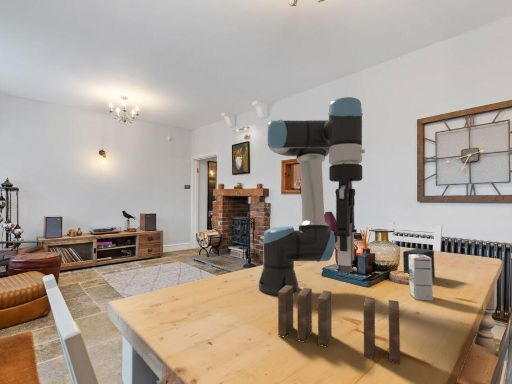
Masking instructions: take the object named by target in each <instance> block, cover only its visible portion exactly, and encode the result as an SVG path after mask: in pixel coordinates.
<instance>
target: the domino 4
mask: <svg viewBox="0 0 512 384" xmlns="http://www.w3.org/2000/svg"><path fill="white" fill-rule="evenodd" d="M349 233H350V235H349V236H350V239H351V266H343V265H339V272H340V274H341V273H347V274H350V272H351V270H352V265H353V260H352V223H350V230H349Z"/></svg>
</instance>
